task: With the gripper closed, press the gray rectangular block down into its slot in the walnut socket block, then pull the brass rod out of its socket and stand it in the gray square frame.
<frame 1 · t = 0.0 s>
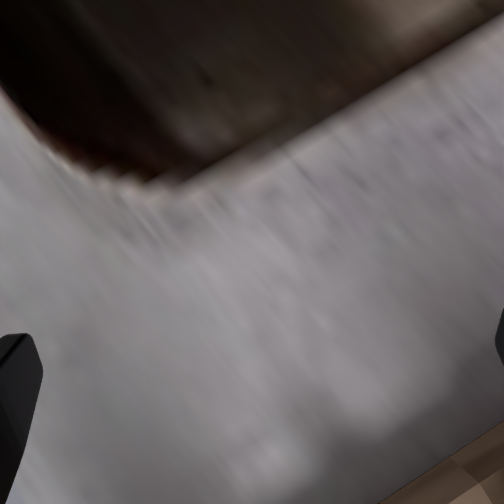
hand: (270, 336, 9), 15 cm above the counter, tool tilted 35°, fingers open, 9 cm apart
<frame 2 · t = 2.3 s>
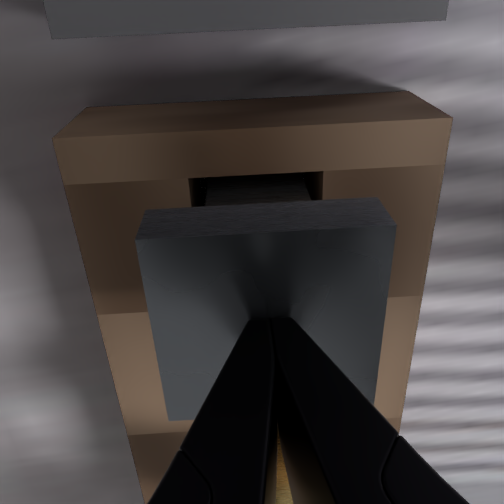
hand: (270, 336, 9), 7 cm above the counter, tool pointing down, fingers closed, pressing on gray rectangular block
brass rod: (261, 402, 19), resting in socket block
socket block: (258, 325, 17), on the counter
gray rectangular block: (261, 270, 11), point 4 cm above the counter, slide at 0.7 cm, touching gripper
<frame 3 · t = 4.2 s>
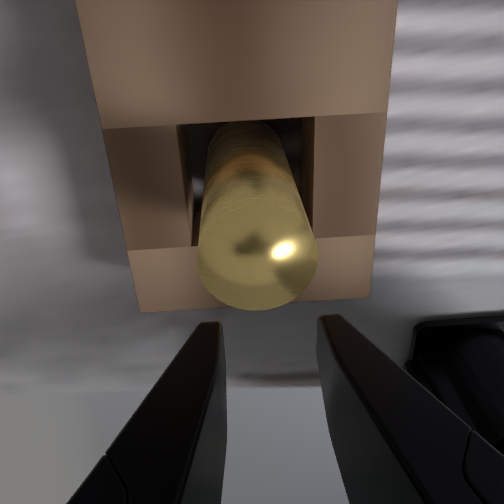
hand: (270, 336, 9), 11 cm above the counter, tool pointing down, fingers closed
brass rod: (245, 156, 19), resting in socket block
socket block: (239, 46, 17), on the counter
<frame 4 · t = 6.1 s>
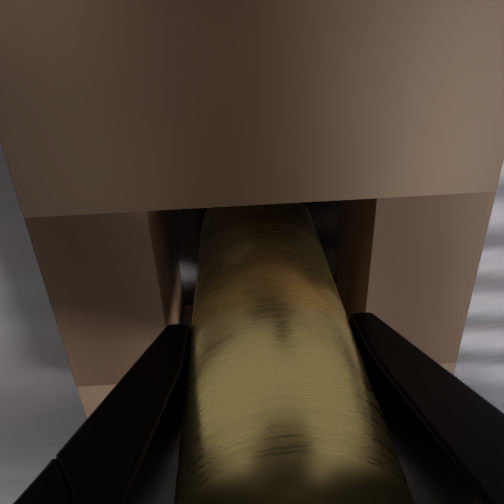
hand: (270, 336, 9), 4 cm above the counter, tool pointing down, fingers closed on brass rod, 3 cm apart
brass rod: (257, 233, 13), resting in socket block, touching gripper
socket block: (251, 77, 11), on the counter
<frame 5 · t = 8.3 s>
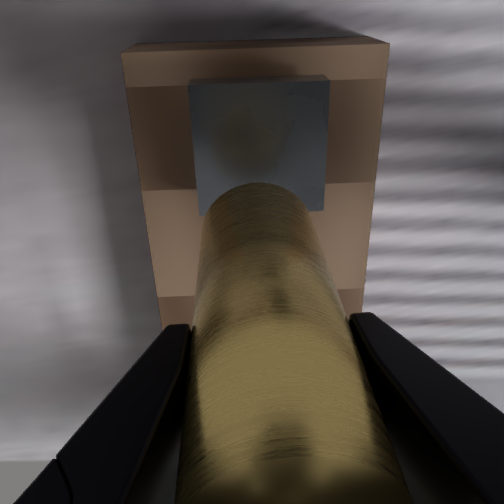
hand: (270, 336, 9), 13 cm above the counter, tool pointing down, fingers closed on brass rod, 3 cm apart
brass rod: (257, 234, 13), point 9 cm above the counter, touching gripper
socket block: (257, 225, 22), on the counter
gray rectangular block: (257, 134, 18), point 3 cm above the counter, slide at 2.4 cm
when the fingers open (5 cm above the counter, at t = 10.6 s): brass rod drops 1 cm, resting in gray square frame.
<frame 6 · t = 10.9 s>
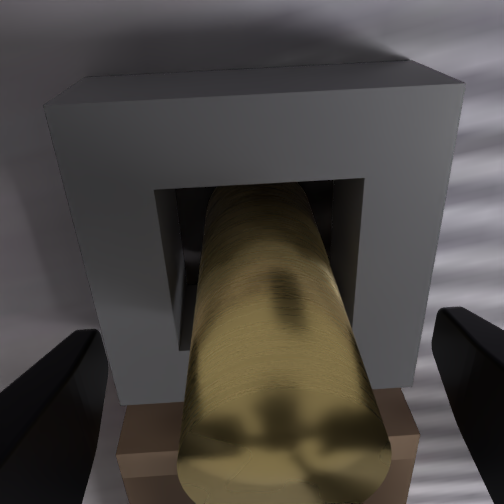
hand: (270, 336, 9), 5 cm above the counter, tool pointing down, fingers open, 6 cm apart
brass rod: (258, 217, 14), resting in gray square frame
gray square frame: (255, 216, 13), on the counter
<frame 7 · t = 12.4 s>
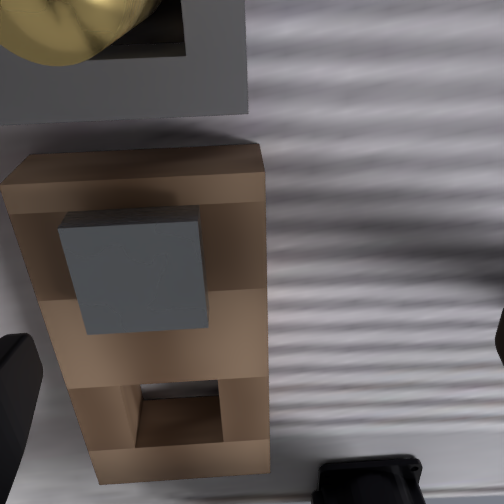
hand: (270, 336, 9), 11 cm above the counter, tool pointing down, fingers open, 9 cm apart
socket block: (169, 309, 23), on the counter
gray rectangular block: (147, 247, 18), point 3 cm above the counter, slide at 2.4 cm
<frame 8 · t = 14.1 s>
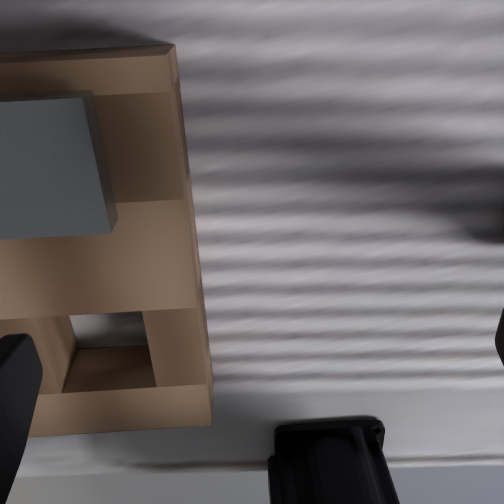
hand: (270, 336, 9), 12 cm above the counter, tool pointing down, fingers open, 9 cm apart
socket block: (97, 241, 21), on the counter
gray rectangular block: (50, 151, 17), point 3 cm above the counter, slide at 2.4 cm
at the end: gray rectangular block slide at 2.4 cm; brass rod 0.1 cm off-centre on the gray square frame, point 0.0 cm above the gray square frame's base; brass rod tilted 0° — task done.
